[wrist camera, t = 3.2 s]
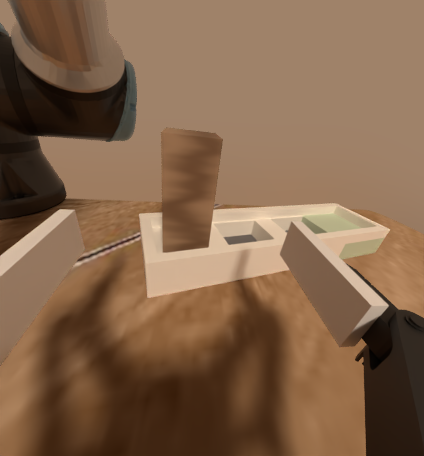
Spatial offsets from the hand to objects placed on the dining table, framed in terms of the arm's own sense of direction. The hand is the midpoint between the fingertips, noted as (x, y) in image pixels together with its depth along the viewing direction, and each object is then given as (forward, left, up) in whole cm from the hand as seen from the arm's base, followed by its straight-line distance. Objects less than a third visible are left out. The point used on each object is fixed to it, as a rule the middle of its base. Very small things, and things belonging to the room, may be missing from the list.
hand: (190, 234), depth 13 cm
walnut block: (0, +10, -7) cm, 12 cm away
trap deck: (+13, +13, -10) cm, 20 cm away
